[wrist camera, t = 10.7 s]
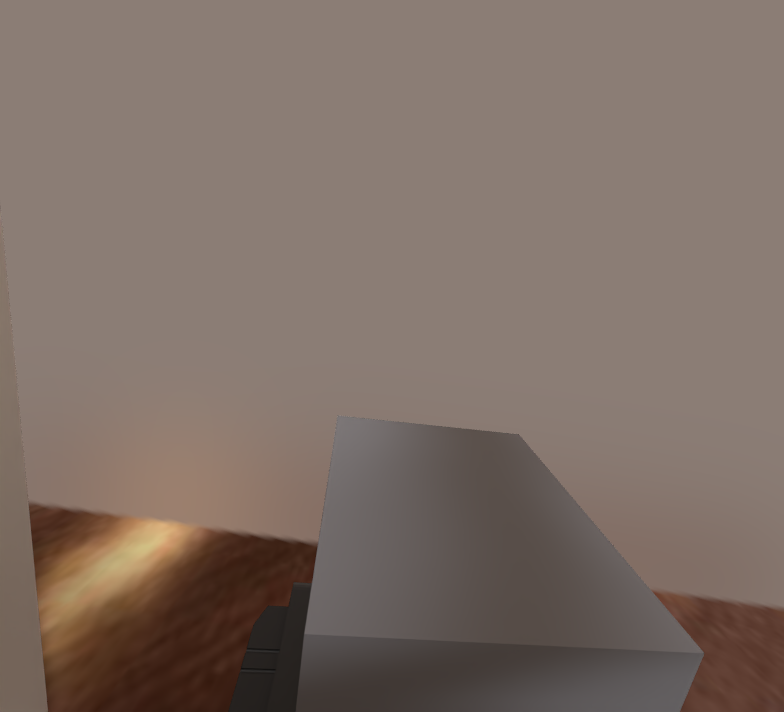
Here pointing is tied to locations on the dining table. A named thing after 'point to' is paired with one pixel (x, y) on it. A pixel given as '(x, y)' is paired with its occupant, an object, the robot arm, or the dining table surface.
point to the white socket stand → (16, 542)
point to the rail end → (474, 587)
